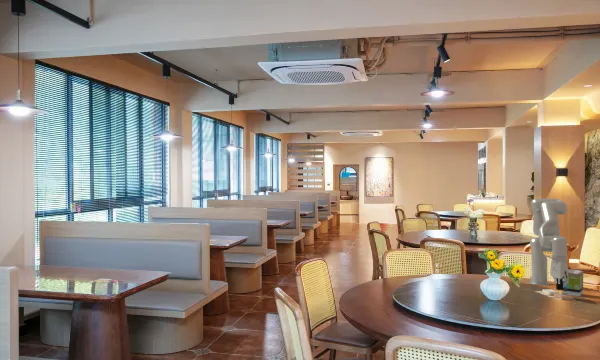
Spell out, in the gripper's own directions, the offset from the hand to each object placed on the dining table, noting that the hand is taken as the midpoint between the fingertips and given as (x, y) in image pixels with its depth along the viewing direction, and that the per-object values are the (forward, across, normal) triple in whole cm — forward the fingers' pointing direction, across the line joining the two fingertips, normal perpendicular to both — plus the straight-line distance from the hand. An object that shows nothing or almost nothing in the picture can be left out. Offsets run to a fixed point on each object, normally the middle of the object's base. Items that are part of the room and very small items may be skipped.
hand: (559, 289), depth 267 cm
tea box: (+6, -10, +15) cm, 19 cm away
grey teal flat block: (+3, -12, 0) cm, 12 cm away
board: (+6, -5, 0) cm, 7 cm away
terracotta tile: (+3, -1, 0) cm, 3 cm away
